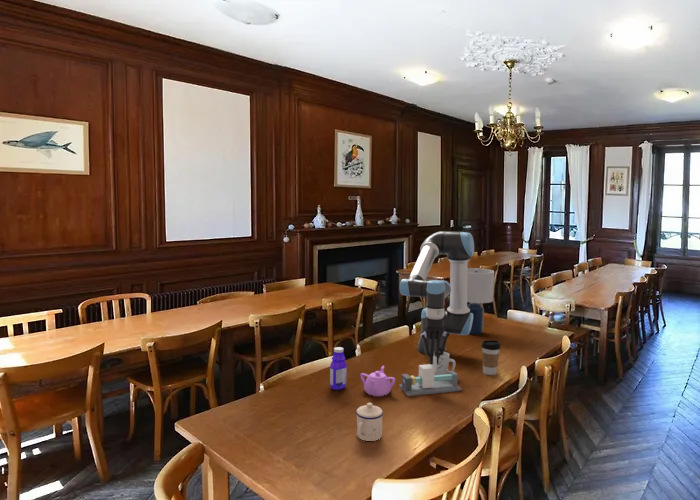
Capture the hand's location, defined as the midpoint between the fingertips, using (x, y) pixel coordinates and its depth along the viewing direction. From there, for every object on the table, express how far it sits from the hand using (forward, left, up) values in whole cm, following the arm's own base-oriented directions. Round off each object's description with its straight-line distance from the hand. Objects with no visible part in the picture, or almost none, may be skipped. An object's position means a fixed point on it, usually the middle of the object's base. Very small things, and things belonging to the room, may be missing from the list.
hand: (433, 371), depth 204 cm
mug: (-13, +11, -8) cm, 19 cm away
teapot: (-2, -24, -8) cm, 26 cm away
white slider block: (0, -3, -6) cm, 7 cm away
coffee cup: (-11, +34, -8) cm, 36 cm away
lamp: (-73, +60, -8) cm, 95 cm away
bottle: (-10, -39, -8) cm, 41 cm away
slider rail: (0, -1, -8) cm, 8 cm away
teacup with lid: (+34, -39, -8) cm, 53 cm away
